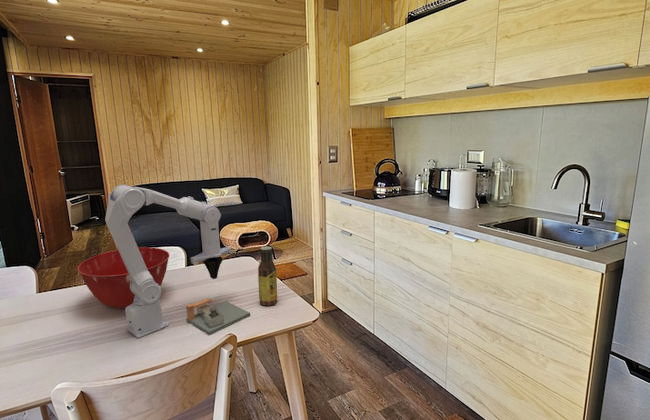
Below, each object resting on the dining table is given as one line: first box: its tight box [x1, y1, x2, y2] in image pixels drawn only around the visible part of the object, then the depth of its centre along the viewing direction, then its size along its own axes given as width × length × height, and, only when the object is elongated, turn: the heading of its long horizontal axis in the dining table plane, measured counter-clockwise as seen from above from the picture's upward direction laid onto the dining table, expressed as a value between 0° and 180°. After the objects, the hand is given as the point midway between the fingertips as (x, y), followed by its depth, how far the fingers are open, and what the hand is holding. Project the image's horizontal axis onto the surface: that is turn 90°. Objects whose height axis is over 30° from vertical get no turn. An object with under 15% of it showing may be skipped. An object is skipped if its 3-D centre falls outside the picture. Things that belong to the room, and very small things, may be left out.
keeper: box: [185, 298, 212, 320], centre depth 119 cm, size 8×2×5 cm, turn 139°
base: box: [185, 301, 251, 336], centre depth 118 cm, size 15×13×6 cm
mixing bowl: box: [77, 246, 170, 310], centre depth 131 cm, size 28×28×15 cm
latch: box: [196, 303, 224, 327], centre depth 117 cm, size 12×4×2 cm, turn 41°
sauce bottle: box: [257, 246, 278, 307], centre depth 127 cm, size 6×6×20 cm
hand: (213, 277), depth 127 cm, fingers closed
